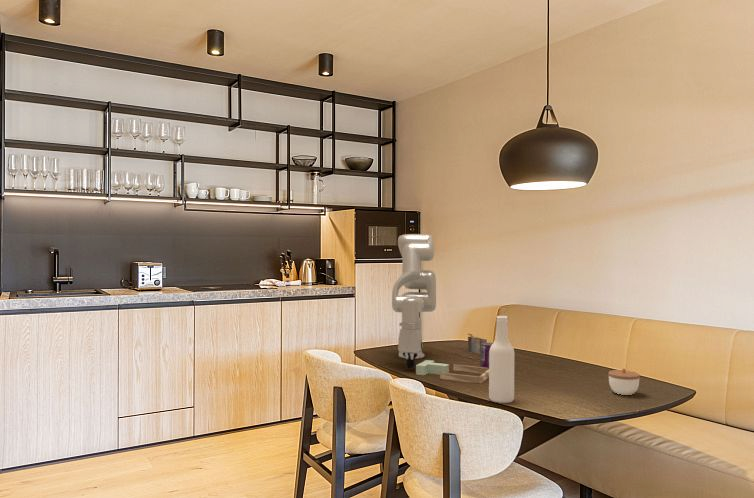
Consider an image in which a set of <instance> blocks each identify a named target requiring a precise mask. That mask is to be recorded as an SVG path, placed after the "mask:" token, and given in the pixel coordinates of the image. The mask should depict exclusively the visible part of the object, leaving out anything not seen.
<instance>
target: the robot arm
mask: <svg viewBox="0 0 754 498" xmlns="http://www.w3.org/2000/svg"><path fill="white" fill-rule="evenodd" d="M397 246H398V249H399V253H400V255H401V258H402V270H401V271H402V273H401V276H400V277H398V278H397V280H396V281H395V283H394V284H393V288H392V292H391V293H392V294H391V308H392V310H393V311H394V312H396V313H401V322H399V326H400V327H401V328H400V329H399V334H398V342H397V343H398V344H397V350H398V357H399V358H402V359H406V367H407V369H410V370H411V369H413V368H414V367H415V360H416V359H422V358H424V357H425V353H423V348H424V347H423V346H424V345H423V334H422V319H421V318H420V313H424V312H427V313H431V312H434V311H435V310H436V307H437V278H436V273H435V272H434V271H433V270H429V269H428V270H427V269H426V270H425V269H421V266H422V265H421V264H422V263H421V262H422V261H423V262H425V261H426V262H430V261H433V259H434V255H435V239H434V237H433V235H432V234H425V233H424V234H423V233H411V234H410V233H407V234H405V233H404V234H402V235H399V236H398V239H397ZM402 286H404V288H405V289H408V290H425V291H426V292H425V291H424V292H423V291H420V292H419V291H408V292H404V293H402V294H401V295H399V291H400V289H401V288H402Z"/></svg>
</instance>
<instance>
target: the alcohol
mask: <svg viewBox="0 0 754 498" xmlns="http://www.w3.org/2000/svg"><path fill="white" fill-rule="evenodd" d="M495 318H496V323H495V324H496V325H495V337H494V341H493V342H492V343H493V344H492V345H491V347H490V351H489V378H488V398H489V399H490V401H491V402H493V403H497V402H498V404H509V403H512V402H514V400H515V349H514V347H513V346H512V344H511V343H510V340H509V328H508V322H509V320H508V316H507V315H497V316H496V317H495Z"/></svg>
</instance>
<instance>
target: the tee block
mask: <svg viewBox="0 0 754 498" xmlns="http://www.w3.org/2000/svg"><path fill="white" fill-rule="evenodd" d="M441 372H442V373H450V364H448V363H439V362H435V360H430V359H425V360H423V361H422V362H420V363H418V364H416V365H415V375H418V376H424V375H425V376H427V375H429V374H430V375H436V376H438V375H439V376H440V373H441ZM428 373H429V374H428ZM426 374H427V375H426Z"/></svg>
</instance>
